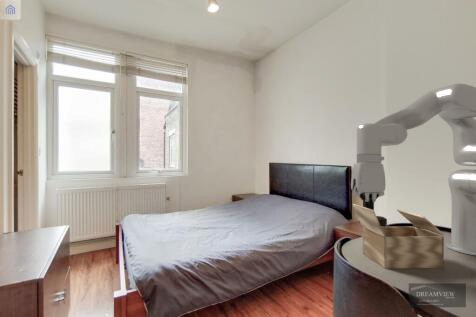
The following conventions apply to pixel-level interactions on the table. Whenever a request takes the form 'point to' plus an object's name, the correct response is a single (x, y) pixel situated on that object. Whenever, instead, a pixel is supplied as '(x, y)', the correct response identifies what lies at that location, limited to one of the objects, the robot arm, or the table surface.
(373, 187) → the robot arm
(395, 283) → the table surface
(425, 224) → the flap
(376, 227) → the flap
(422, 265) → the carton
